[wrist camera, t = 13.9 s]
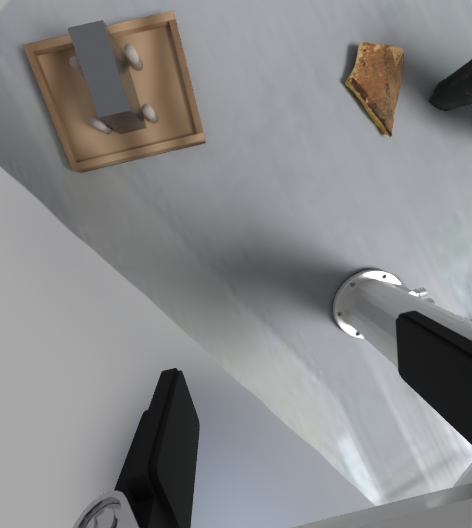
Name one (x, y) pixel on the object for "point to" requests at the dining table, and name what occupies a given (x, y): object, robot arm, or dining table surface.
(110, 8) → the dining table surface
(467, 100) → the ceramic cat
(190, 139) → the pin tray
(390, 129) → the shard
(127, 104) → the block
